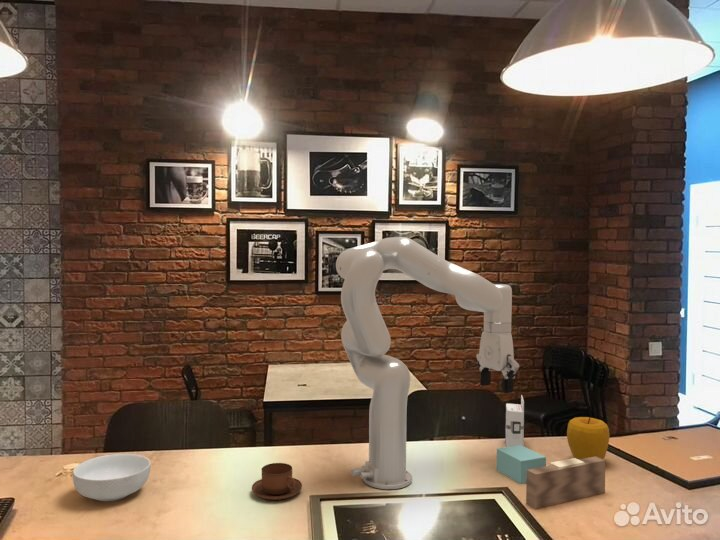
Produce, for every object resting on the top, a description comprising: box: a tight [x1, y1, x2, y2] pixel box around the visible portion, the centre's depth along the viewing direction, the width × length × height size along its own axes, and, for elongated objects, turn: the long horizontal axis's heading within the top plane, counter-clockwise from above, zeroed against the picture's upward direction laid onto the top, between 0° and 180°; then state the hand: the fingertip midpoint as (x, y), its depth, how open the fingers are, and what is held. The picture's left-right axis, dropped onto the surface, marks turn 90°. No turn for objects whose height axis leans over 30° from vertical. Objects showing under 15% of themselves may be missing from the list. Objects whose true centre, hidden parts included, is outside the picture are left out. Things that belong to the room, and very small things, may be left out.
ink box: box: [505, 394, 525, 447], centre depth 172 cm, size 9×5×15 cm, turn 168°
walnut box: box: [525, 456, 606, 510], centre depth 134 cm, size 22×3×9 cm, turn 115°
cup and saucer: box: [251, 462, 303, 501], centre depth 136 cm, size 12×12×6 cm
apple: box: [566, 416, 611, 460], centre depth 158 cm, size 11×11×13 cm
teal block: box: [496, 445, 547, 485], centre depth 149 cm, size 8×10×6 cm
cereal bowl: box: [72, 453, 152, 502], centre depth 134 cm, size 17×17×7 cm
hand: (496, 388), depth 159 cm, fingers open, 9 cm apart
